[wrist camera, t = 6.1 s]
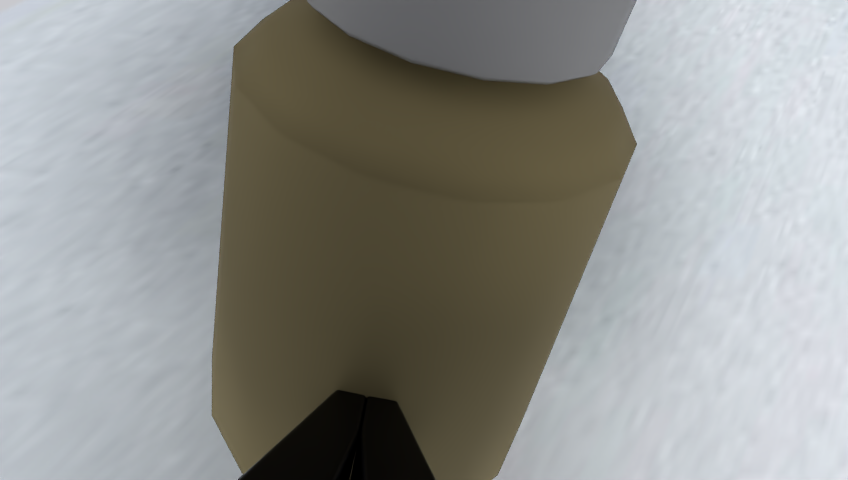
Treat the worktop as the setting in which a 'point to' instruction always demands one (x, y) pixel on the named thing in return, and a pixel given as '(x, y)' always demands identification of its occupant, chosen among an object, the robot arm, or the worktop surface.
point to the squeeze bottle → (410, 212)
